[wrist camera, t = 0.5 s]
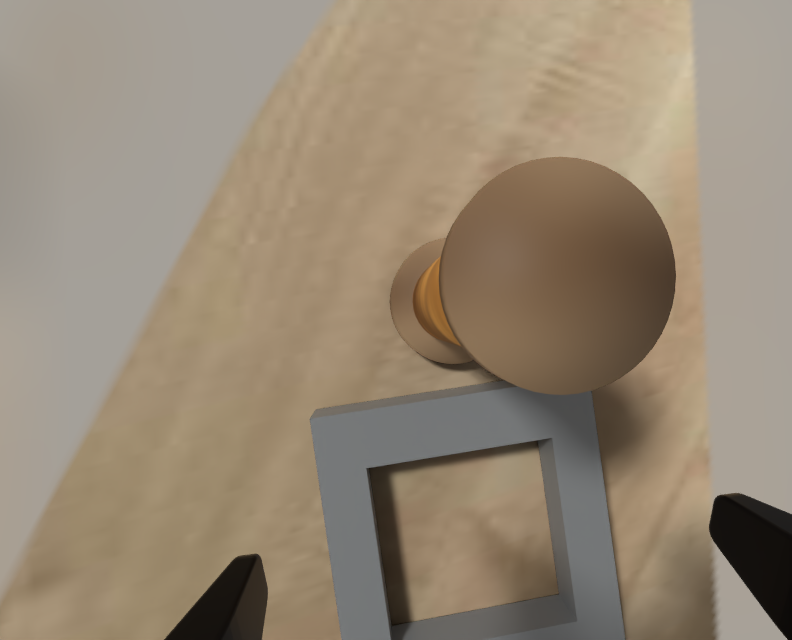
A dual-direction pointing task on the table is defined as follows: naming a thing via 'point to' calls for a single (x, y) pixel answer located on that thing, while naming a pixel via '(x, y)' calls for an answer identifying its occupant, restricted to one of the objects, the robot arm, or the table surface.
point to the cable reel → (543, 279)
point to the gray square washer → (456, 433)
